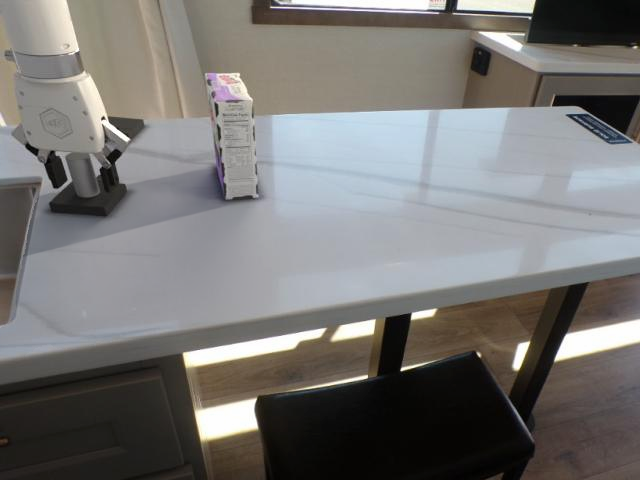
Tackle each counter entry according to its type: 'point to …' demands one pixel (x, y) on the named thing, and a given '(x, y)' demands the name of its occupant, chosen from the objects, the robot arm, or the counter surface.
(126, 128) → the notch pad
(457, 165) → the counter surface
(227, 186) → the candy box
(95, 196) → the pad
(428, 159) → the counter surface
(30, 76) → the robot arm
